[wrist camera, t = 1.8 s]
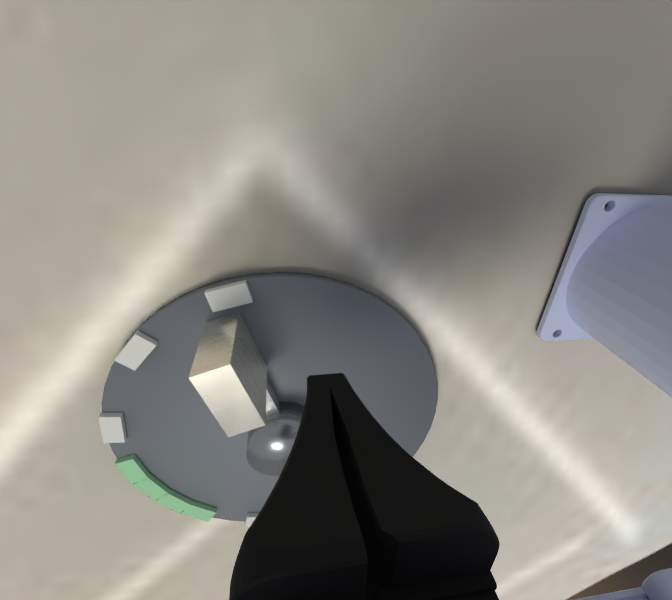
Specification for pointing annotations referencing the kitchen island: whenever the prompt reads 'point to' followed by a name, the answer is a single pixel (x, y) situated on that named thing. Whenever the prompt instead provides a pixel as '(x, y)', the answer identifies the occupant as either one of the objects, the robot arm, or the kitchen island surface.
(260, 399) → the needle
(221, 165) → the kitchen island surface
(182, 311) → the dial
